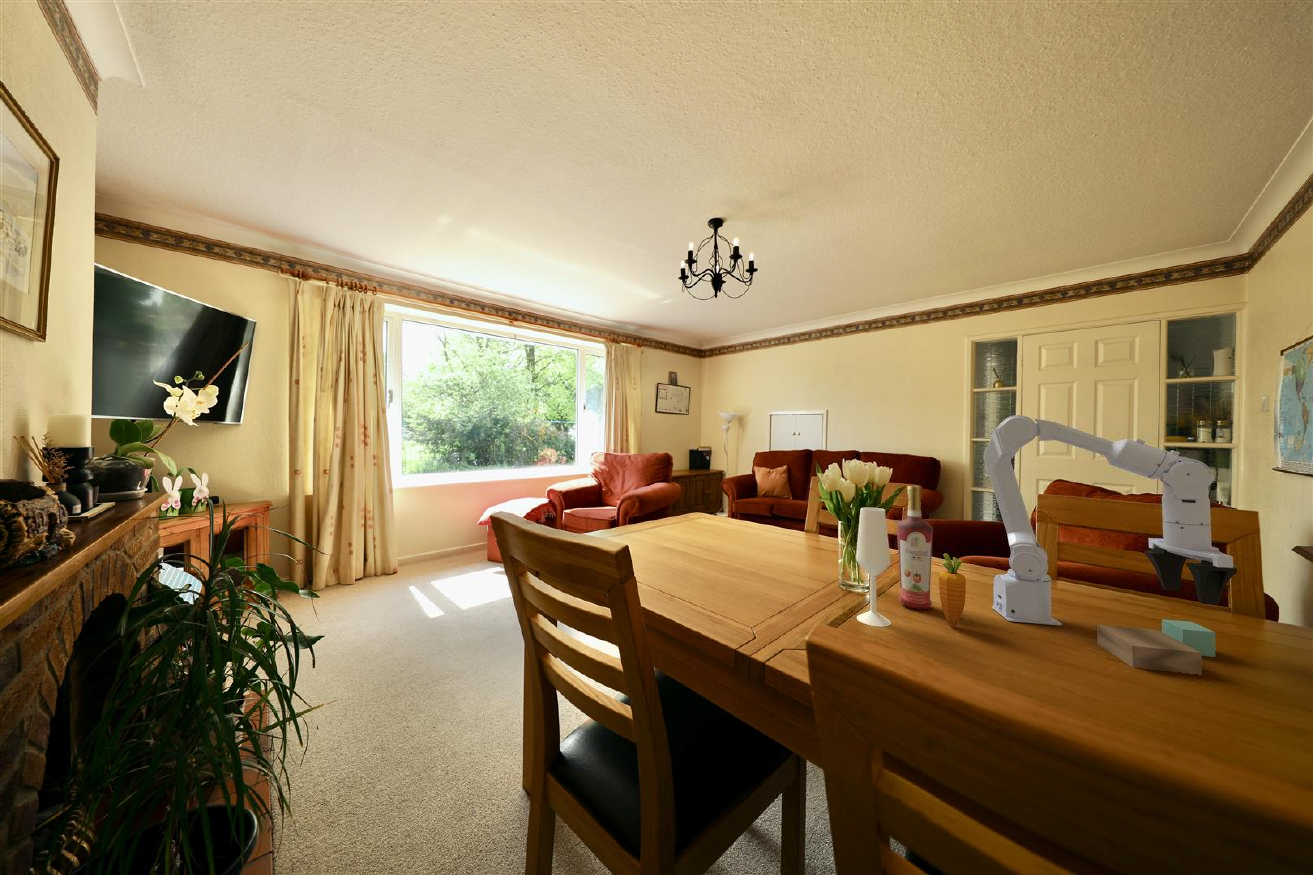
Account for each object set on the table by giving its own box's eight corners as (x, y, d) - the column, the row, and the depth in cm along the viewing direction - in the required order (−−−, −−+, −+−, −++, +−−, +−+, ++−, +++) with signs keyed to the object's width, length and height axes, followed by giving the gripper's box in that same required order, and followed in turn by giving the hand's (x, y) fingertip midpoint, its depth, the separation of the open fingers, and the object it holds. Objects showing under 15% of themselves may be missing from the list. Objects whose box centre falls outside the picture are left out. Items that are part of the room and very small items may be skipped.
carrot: (972, 633, 88) (971, 558, 89) (944, 631, 89) (943, 557, 90) (960, 623, 93) (959, 552, 93) (934, 621, 94) (933, 551, 94)
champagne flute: (873, 612, 100) (872, 506, 100) (898, 624, 93) (897, 510, 93) (849, 616, 98) (848, 507, 98) (873, 628, 91) (872, 512, 91)
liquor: (899, 609, 101) (898, 487, 101) (895, 598, 108) (894, 484, 108) (936, 614, 98) (935, 488, 98) (930, 602, 105) (929, 485, 105)
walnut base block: (1132, 669, 75) (1132, 645, 75) (1097, 645, 84) (1097, 624, 84) (1201, 677, 73) (1201, 652, 73) (1158, 651, 81) (1157, 630, 81)
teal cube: (1183, 654, 80) (1182, 629, 80) (1162, 643, 84) (1161, 619, 84) (1215, 657, 79) (1215, 632, 79) (1192, 645, 83) (1192, 621, 83)
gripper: (1255, 530, 74) (1259, 612, 73) (1179, 516, 88) (1181, 585, 87) (1201, 529, 75) (1204, 609, 75) (1134, 515, 89) (1137, 583, 89)
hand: (1188, 596), depth 81 cm, fingers open, 7 cm apart
